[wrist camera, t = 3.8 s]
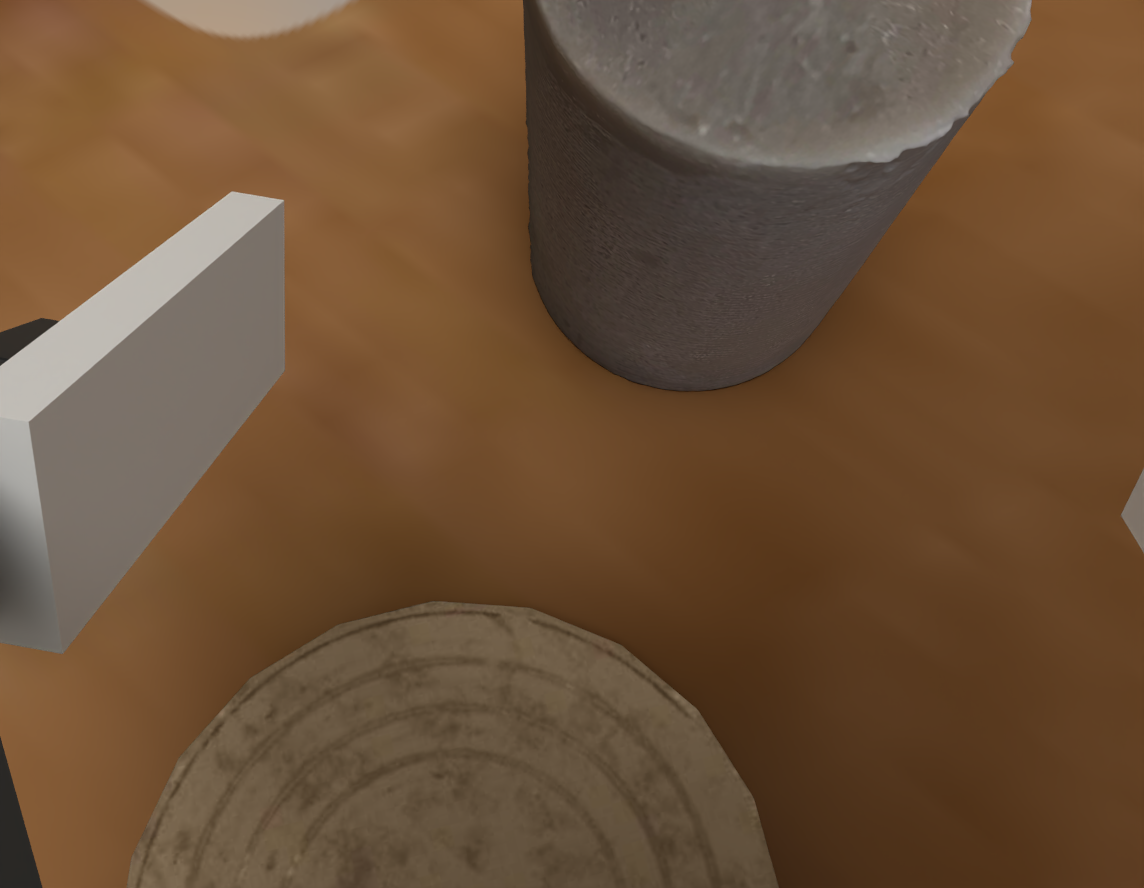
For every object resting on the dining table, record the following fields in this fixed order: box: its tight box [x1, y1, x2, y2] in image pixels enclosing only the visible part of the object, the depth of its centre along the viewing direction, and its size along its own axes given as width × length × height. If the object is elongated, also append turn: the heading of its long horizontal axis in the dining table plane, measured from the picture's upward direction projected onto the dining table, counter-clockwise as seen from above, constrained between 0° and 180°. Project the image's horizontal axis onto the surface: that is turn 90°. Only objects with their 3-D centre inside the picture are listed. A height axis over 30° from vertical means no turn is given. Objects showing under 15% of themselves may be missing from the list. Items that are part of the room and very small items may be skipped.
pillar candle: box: [523, 0, 1032, 391], centre depth 25 cm, size 10×10×15 cm
